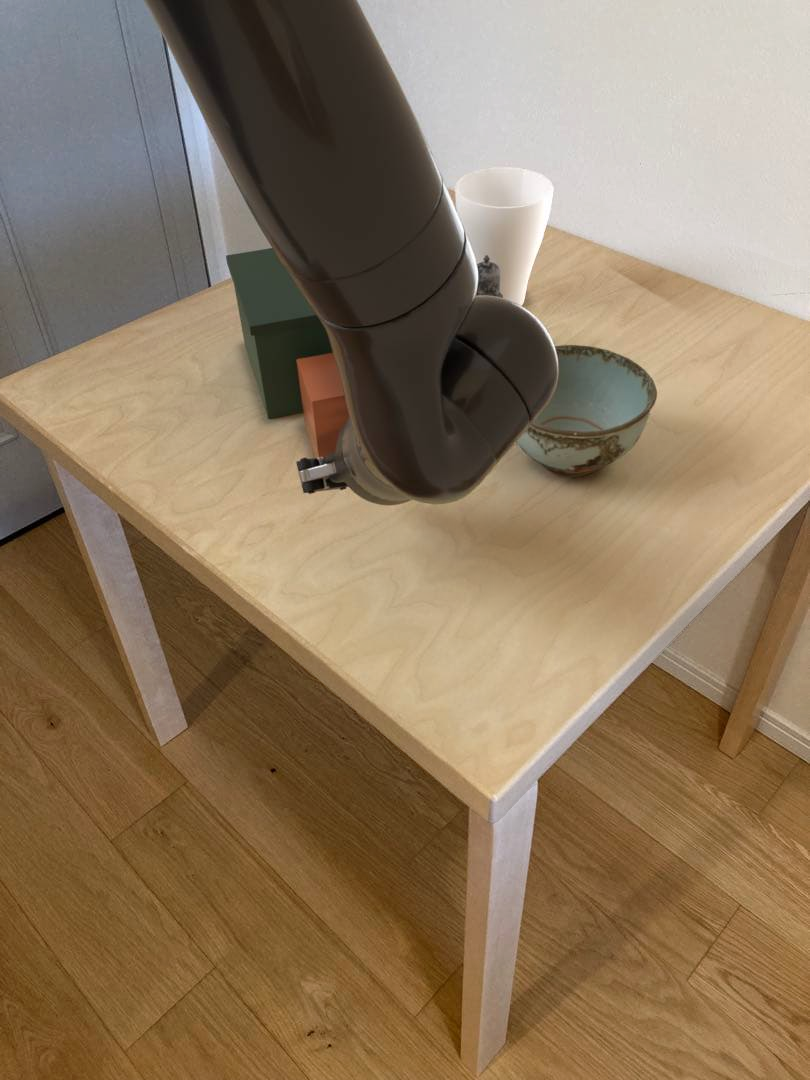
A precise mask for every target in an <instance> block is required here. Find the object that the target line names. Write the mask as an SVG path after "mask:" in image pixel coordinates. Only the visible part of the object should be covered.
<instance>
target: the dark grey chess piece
mask: <svg viewBox="0 0 810 1080" xmlns="http://www.w3.org/2000/svg"><path fill="white" fill-rule="evenodd" d="M483 260H484V261H483V262H481V263H478V264H477V267H478V287H477V293H476V296H479V295H489V296H496V297H501V298H503V295H502V294H501V293H500V268H499V267H498V266H497V265H496V264H495V263H492V262H489V260H490V258H489V256H488V255H486V256H485V257H484V258H483Z"/></svg>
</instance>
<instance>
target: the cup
mask: <svg viewBox="0 0 810 1080" xmlns="http://www.w3.org/2000/svg"><path fill="white" fill-rule="evenodd" d="M454 193H455V194H454V195H455V208H456V210H457V212H458V215H459V217H460V220H461V222H462V225H463V227H464V229H465V231H466V234H467V236H468V239H469V241H470V244H471V246H472V249H473V252H474V255H475V259H476V263H477V264H478V263H481V262H483V261H484V260H483V258H484V257H485V256H486V255H488V256H489V258H490V260H489V262H492V263H495V264H496V265H497V266H498V267H499V268H500V293H501V294H502V295H503V298H505V299H508V300H510V301H513V302H515V303H517V304H519V305H521V306H522V307H523V306H524V305H523V304H524V303H525V300H526V299H525V298H526V294H527V288H528V282H529V279H530V276H531V273H532V269H533V266H534V264H535V260H536V257H537V255H538V252H539V249H540V247H541V244H542V242H543V239H544V235H545V231H546V228H547V224H548V221H549V217H550V213H551V208H552V202H553V195H554V185H553V183H552V181H551V179H549V178H548V177H546V176H545V175H544V174H541V173H539V172H537V171H534V170H530V169H526V168H521V167H513V166H495V167H486V168H481V169H476V170H474V171H471V172H468V173H466V174H465V175H463V176H462V177H460V178H459V180H457V182H456V183H455V187H454Z"/></svg>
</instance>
